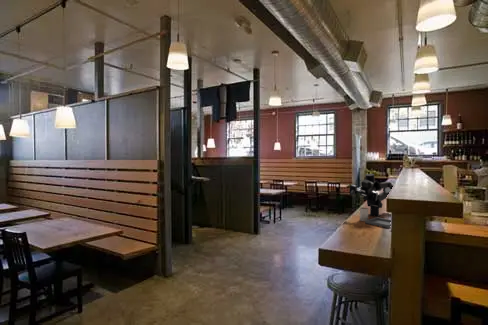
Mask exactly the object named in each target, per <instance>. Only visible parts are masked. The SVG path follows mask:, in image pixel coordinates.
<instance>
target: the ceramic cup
mask: <svg viewBox="0 0 488 325" xmlns="http://www.w3.org/2000/svg"><path fill="white" fill-rule="evenodd" d="M359 209H360V210H359V221H360V222H365V220H368V219H369V215H368V214H369V208H368V207H360V208H359Z"/></svg>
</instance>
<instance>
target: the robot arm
mask: <svg viewBox="0 0 488 325" xmlns="http://www.w3.org/2000/svg"><path fill="white" fill-rule="evenodd" d="M375 179H376V178H375V174H374V173H367V174H365V178H364V179H363V180H362V181H361V186H360V188H358V186H357V185H355V184H350V186H349V195H350V196H355V195H357V193H359V194H360V196H361V197H363V198H362V199H363V200H365V201H366V205H367V207H369V208H370V210H369V211H370V213H368V216H371V217H375V218H376V217H380V216H381V214H380V209H382V208H383V203H382V201H384V200H387V198H386V197H387V195H388V194H389V192H390V191H391V189H392V187H393V186H394V185H393V184H392V182H390V181H383V182H379V181H375ZM380 191H382V192H381V193H379V194H378V192H380Z"/></svg>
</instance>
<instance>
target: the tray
mask: <svg viewBox="0 0 488 325" xmlns="http://www.w3.org/2000/svg"><path fill="white" fill-rule="evenodd" d="M391 220H392V219H388V218H384V217H383V218H382V217H379V216H377V217H376V216H375V217H373V218H372V217H371V218H368V220H365V221H364V224H365V225H370V224H371V225H370V226H374V225H377V226H376V227H379V226H382V227H381V228H384V227H385V229H391V228H390V226H391V224H390V222H391Z"/></svg>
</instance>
